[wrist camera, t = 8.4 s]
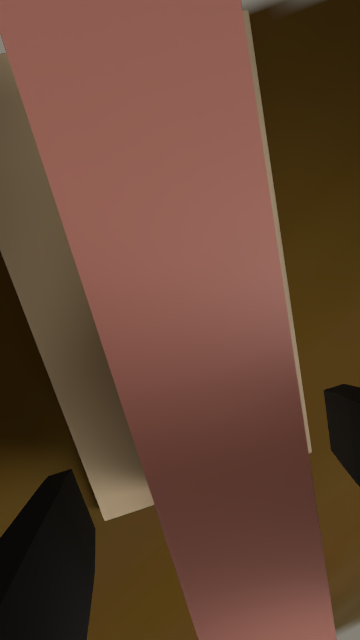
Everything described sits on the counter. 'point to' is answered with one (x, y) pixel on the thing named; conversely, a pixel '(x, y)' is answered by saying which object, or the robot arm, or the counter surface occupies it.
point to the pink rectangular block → (184, 289)
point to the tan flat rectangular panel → (79, 306)
